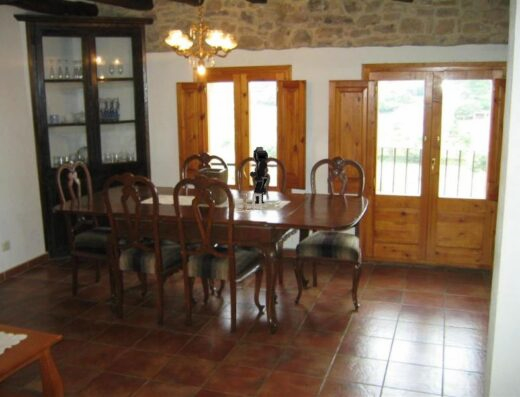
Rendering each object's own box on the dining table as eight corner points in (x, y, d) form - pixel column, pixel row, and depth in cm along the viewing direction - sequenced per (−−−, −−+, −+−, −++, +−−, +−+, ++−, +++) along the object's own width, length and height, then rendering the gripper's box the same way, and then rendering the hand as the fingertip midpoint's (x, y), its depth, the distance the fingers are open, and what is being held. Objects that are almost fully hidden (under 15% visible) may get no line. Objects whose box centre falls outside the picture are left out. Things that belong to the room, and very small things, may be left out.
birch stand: (239, 210, 397) (239, 192, 395) (253, 211, 394) (253, 193, 392) (235, 213, 387) (234, 195, 385) (248, 214, 384) (248, 196, 382)
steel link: (253, 210, 398) (253, 193, 395) (261, 210, 396) (261, 193, 394) (252, 210, 396) (252, 193, 394) (260, 211, 395) (260, 194, 392)
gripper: (254, 165, 416) (254, 186, 419) (247, 168, 398) (247, 190, 401) (269, 166, 413) (269, 187, 416) (262, 169, 395) (262, 191, 398)
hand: (261, 189), depth 408 cm, fingers open, 9 cm apart
